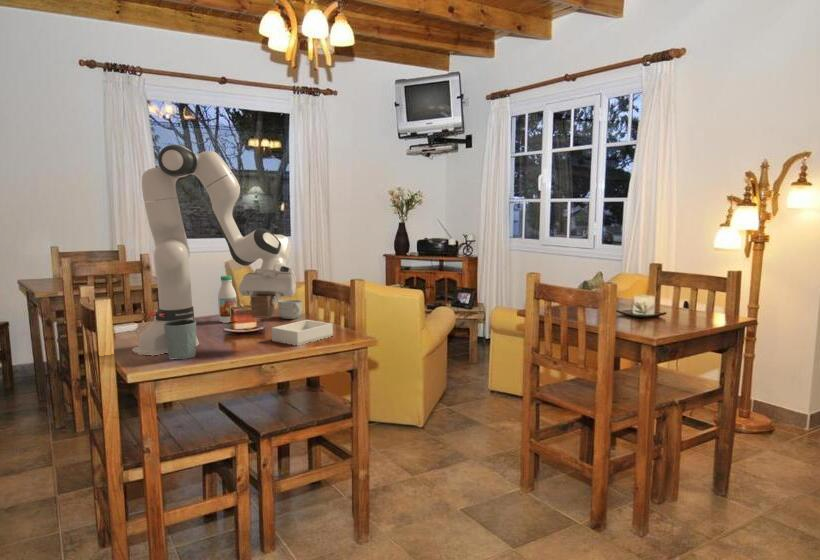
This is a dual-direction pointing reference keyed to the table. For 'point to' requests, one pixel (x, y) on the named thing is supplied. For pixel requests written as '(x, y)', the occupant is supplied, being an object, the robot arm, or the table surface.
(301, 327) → the white crate
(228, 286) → the milk bottle
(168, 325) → the green cup
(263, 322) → the table surface
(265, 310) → the walnut crate
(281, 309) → the teacup
